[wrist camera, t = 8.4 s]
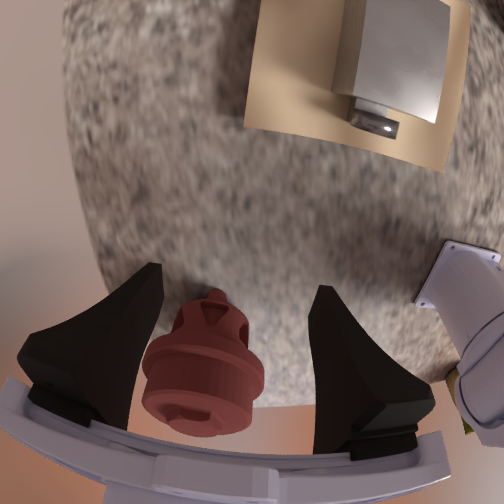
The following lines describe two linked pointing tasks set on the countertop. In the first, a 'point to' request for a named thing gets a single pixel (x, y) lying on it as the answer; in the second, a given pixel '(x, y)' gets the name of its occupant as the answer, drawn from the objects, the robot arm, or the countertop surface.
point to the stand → (321, 77)
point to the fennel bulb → (451, 385)
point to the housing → (391, 61)
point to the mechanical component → (203, 370)
